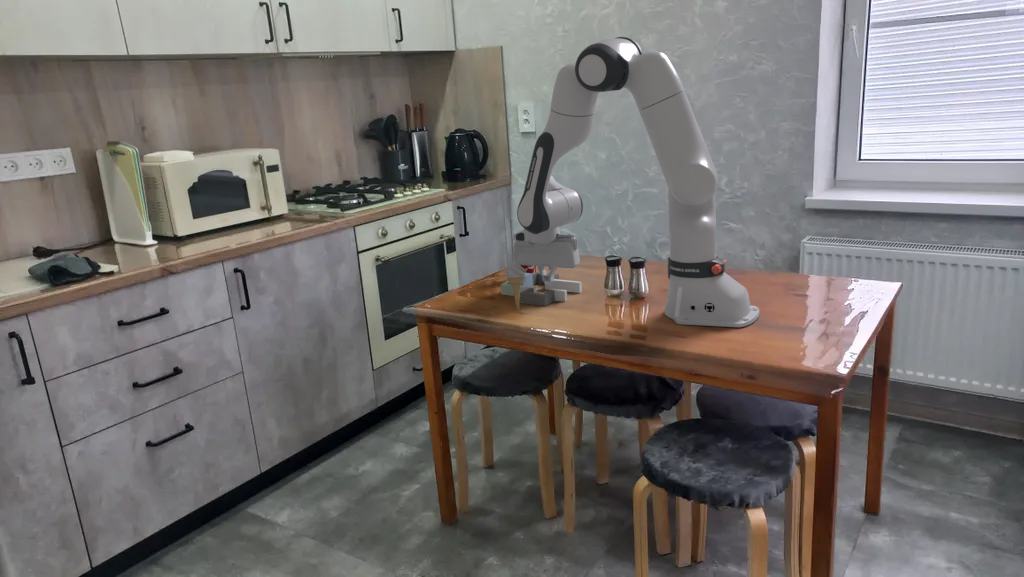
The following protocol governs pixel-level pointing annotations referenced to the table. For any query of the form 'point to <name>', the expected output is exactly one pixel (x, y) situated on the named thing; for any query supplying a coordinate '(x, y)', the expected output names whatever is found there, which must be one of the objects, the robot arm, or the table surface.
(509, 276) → the ice cream cone
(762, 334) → the table surface
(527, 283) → the block
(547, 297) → the box
